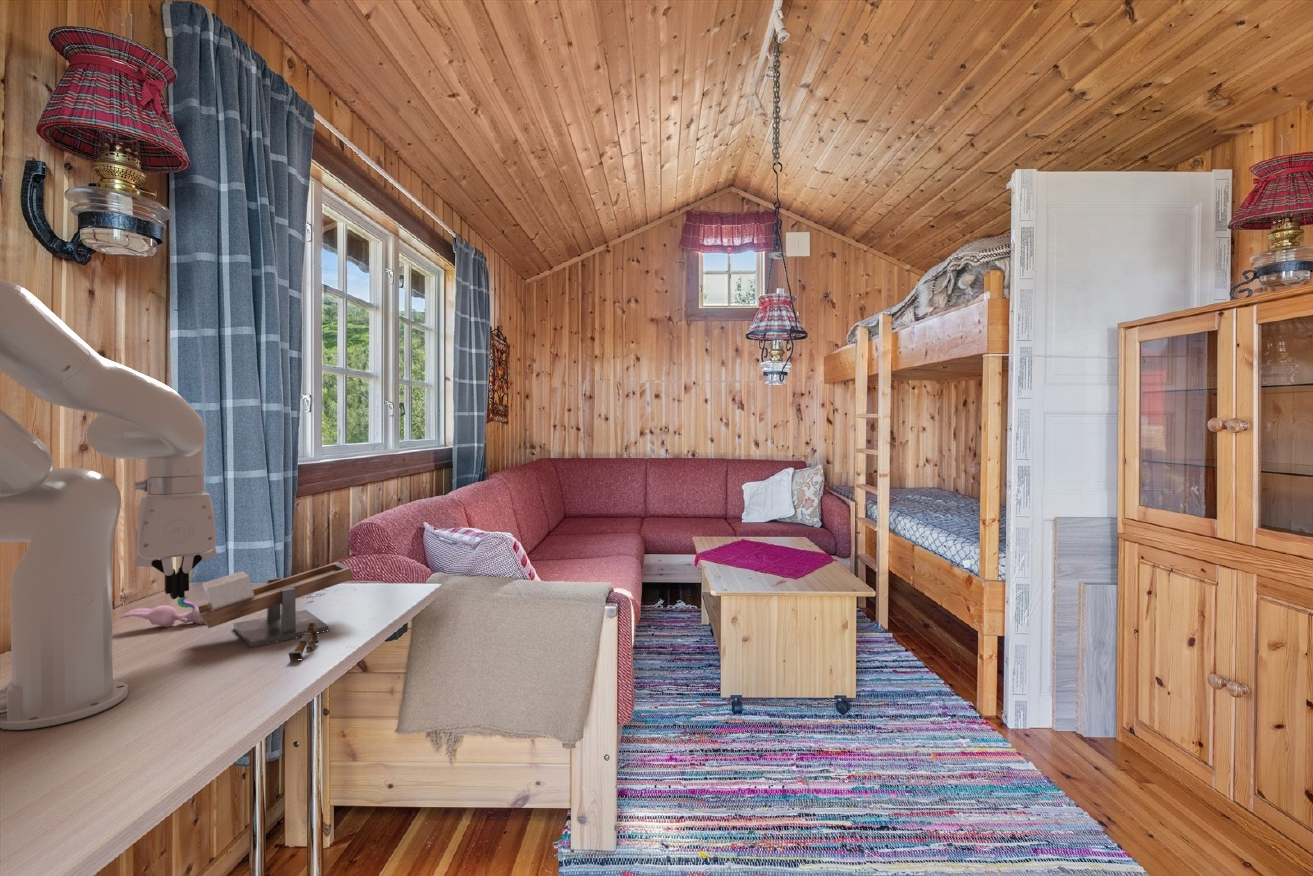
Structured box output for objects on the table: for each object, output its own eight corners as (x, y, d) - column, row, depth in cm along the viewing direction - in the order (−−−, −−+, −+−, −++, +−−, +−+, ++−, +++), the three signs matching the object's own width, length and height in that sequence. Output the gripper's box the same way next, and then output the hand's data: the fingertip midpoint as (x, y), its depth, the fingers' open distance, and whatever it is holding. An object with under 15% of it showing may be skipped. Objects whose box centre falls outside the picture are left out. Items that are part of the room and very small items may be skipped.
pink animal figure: (220, 623, 120) (124, 621, 113) (226, 593, 120) (130, 589, 114) (213, 633, 114) (112, 631, 108) (219, 601, 115) (119, 597, 108)
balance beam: (208, 628, 100) (205, 615, 100) (200, 617, 106) (197, 605, 106) (353, 579, 116) (351, 568, 116) (339, 572, 122) (337, 561, 122)
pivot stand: (250, 648, 102) (250, 597, 102) (233, 628, 112) (233, 582, 112) (328, 631, 111) (328, 584, 110) (306, 614, 121) (305, 572, 120)
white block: (214, 616, 102) (207, 588, 101) (209, 610, 106) (202, 583, 105) (255, 603, 106) (249, 575, 106) (249, 597, 110) (242, 571, 109)
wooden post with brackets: (324, 637, 105) (320, 617, 103) (305, 673, 98) (300, 651, 96) (313, 638, 105) (308, 617, 103) (293, 673, 97) (287, 652, 95)
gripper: (117, 491, 93) (118, 611, 93) (234, 485, 103) (235, 592, 103) (113, 488, 98) (115, 601, 98) (225, 482, 108) (227, 584, 109)
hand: (177, 596), depth 101 cm, fingers closed
